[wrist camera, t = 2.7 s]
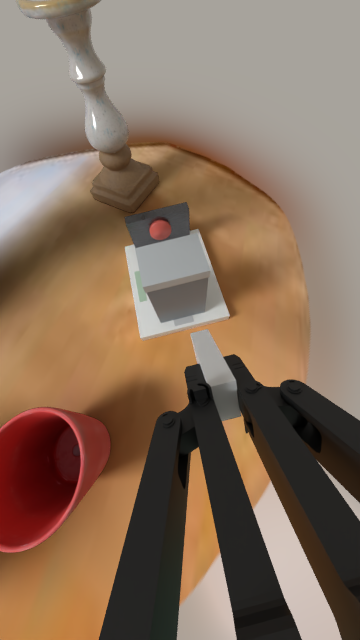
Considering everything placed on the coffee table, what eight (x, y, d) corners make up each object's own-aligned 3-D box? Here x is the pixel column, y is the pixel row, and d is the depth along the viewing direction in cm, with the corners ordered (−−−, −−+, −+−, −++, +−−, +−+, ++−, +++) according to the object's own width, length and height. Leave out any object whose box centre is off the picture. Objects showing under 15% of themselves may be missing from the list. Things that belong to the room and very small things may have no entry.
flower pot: (28, 453, 27) (-55, 481, 18) (88, 388, 30) (41, 384, 21) (75, 521, 24) (5, 594, 15) (138, 442, 27) (109, 465, 18)
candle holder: (133, 214, 42) (62, 8, 20) (92, 198, 45) (-10, 1, 22) (160, 181, 45) (125, -30, 23) (121, 168, 48) (55, -33, 25)
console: (228, 319, 32) (237, 297, 25) (142, 340, 32) (128, 324, 25) (198, 234, 39) (198, 199, 32) (127, 252, 38) (112, 220, 32)
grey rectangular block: (205, 312, 31) (210, 270, 21) (160, 323, 31) (142, 287, 21) (196, 284, 33) (197, 233, 23) (154, 294, 33) (134, 248, 23)
